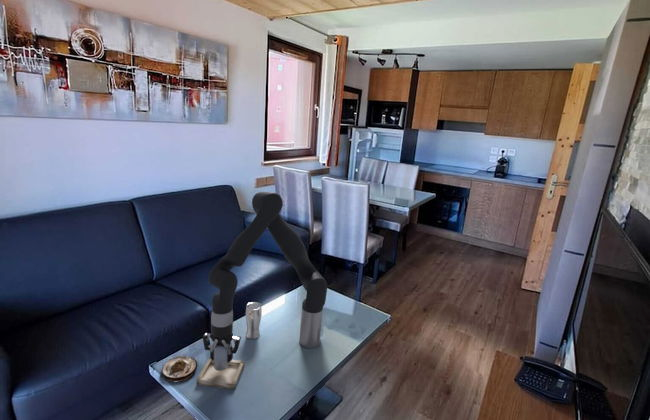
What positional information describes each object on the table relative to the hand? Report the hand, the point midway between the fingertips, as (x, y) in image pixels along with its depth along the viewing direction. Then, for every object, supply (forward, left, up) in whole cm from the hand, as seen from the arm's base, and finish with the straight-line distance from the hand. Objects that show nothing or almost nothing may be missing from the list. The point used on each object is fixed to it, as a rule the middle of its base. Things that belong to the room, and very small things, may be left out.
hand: (221, 359), depth 125 cm
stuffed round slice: (+16, 0, -7) cm, 18 cm away
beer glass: (-5, -26, -7) cm, 27 cm away
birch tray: (0, 0, -7) cm, 7 cm away
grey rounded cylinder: (0, 0, -2) cm, 2 cm away
